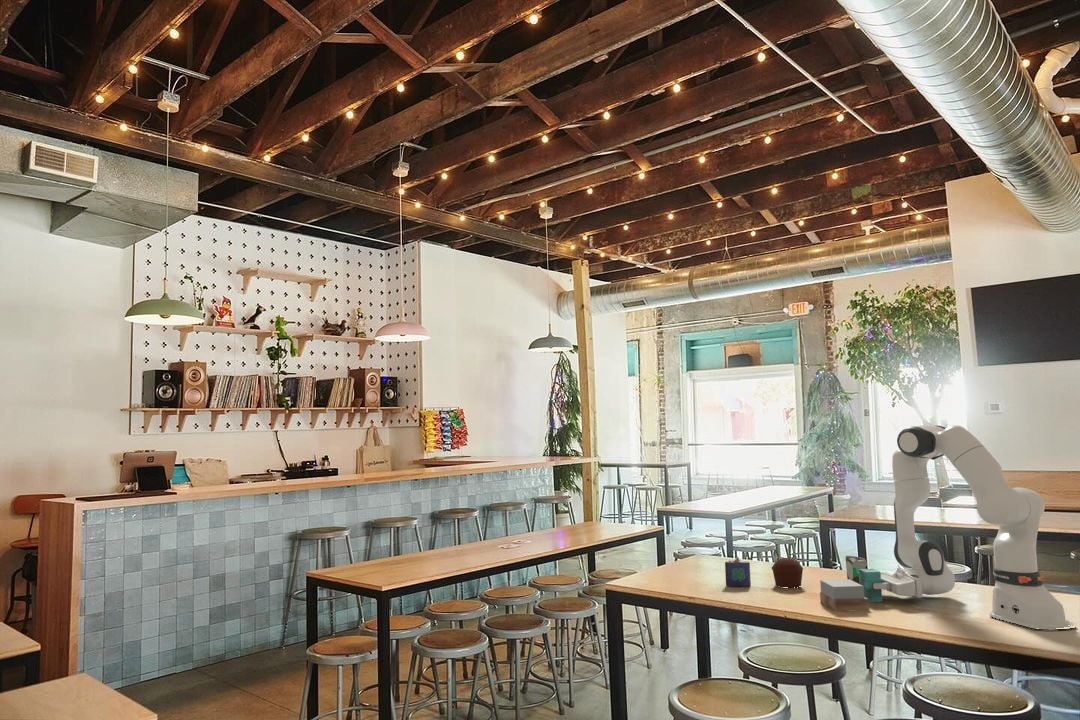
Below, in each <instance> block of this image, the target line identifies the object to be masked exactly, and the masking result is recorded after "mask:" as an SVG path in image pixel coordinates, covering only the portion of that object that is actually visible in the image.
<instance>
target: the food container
mask: <svg viewBox="0 0 1080 720" xmlns="http://www.w3.org/2000/svg"><path fill="white" fill-rule="evenodd" d="M845 566H846V568H845V569H846V578H847V579H850V580H852V581H854V582H856V583H858V584H859V569H866V567H867V566H868V563H867V561H866V558H864V557H860V556H854V555H845ZM847 579H846V580H847Z"/></svg>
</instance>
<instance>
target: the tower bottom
mask: <svg viewBox="0 0 1080 720" xmlns="http://www.w3.org/2000/svg"><path fill="white" fill-rule="evenodd" d="M819 599H820V600H819V601H820V604H822V605H824V606H825V607H827V608H829V609H831V610H833V611H835V612H850V611H849V610H860V611H870V603H869V599H868V598H866V597H864V599H832V598H830V597H829V596H827V595H825V594H823V593H821V591H820V592H819ZM847 610H848V611H847Z"/></svg>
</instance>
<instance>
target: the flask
mask: <svg viewBox="0 0 1080 720" xmlns="http://www.w3.org/2000/svg"><path fill="white" fill-rule="evenodd" d="M724 567H725V568H724V569H725V570H724V571H725V572H724V573H725V586H728V587H727V588H739V587H740V588H742V587H741V586H748V587H749V586H750V587H751V585H752V583H751V565H750V561H741V560H740V556H739V557H737V556H735V559H734V560H730V559H729V560H728V561H725V562H724Z"/></svg>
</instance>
